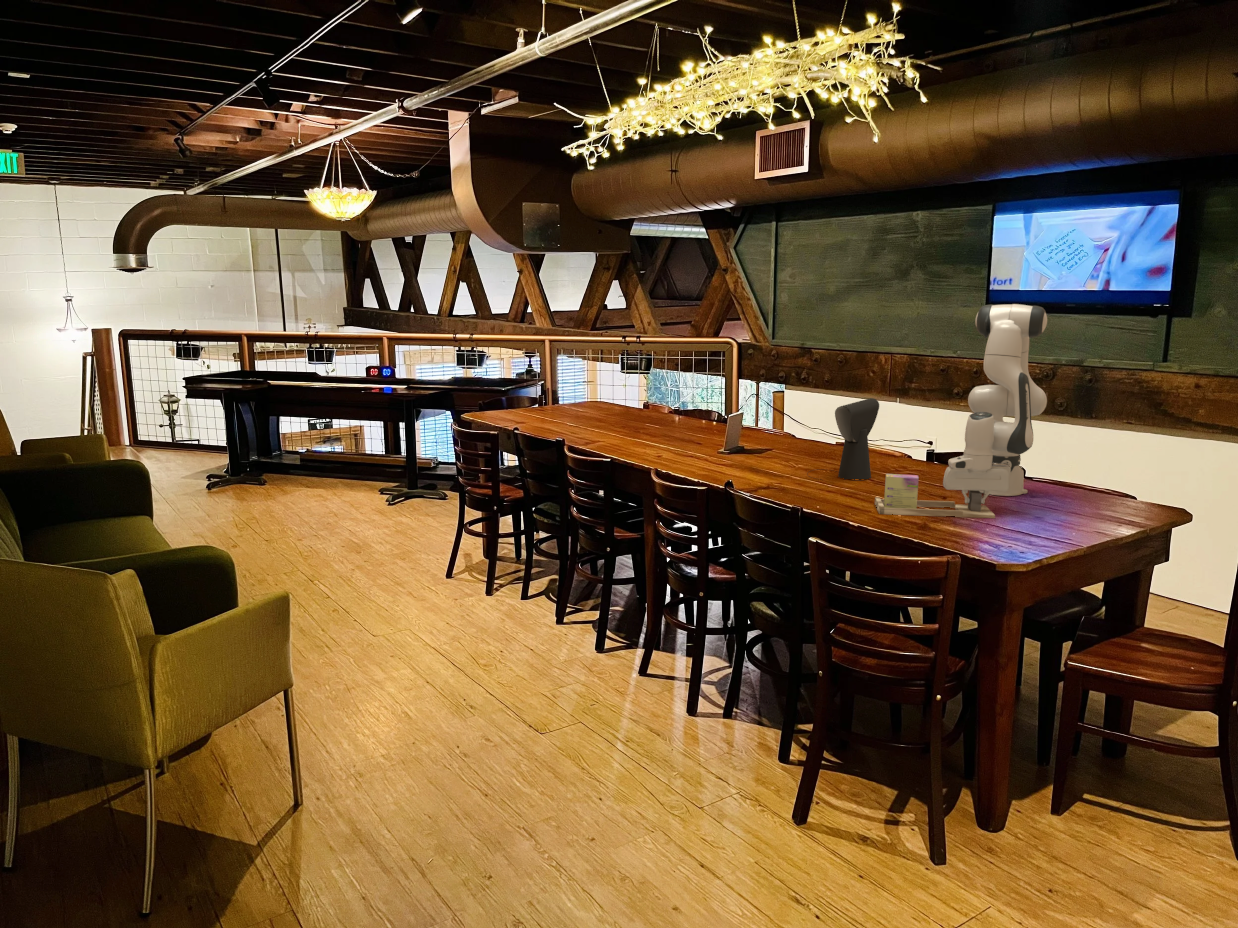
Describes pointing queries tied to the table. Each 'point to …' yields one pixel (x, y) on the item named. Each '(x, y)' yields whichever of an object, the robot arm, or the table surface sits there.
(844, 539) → the table surface
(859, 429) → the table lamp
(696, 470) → the table surface
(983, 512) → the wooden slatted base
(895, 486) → the box
